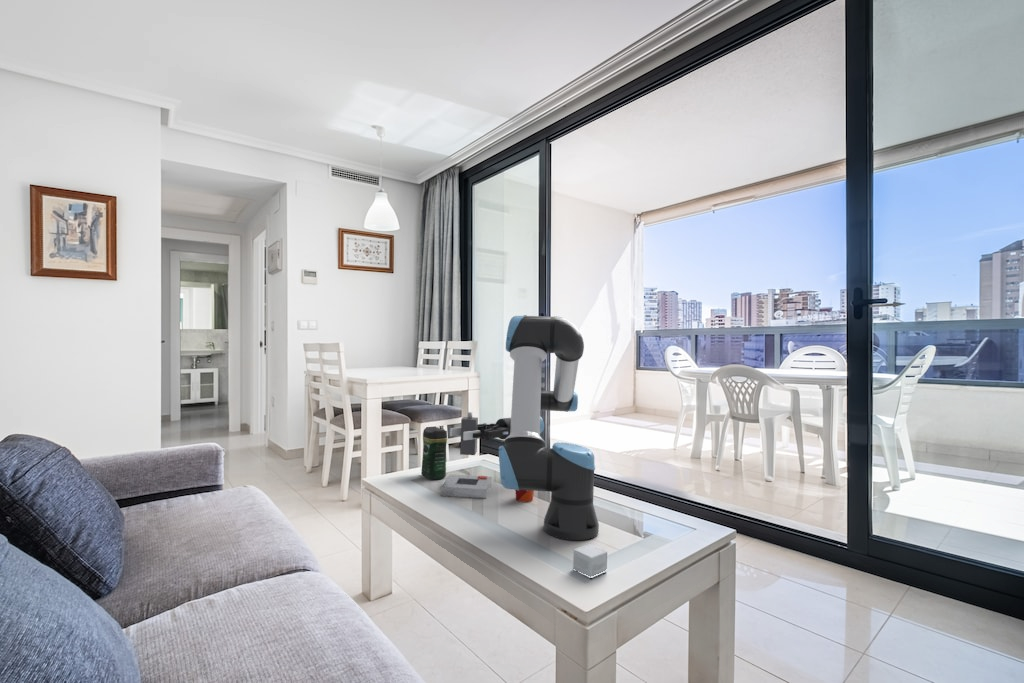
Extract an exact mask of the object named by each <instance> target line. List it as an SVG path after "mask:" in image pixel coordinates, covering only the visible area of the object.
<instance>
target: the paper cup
mask: <svg viewBox="0 0 1024 683" xmlns="http://www.w3.org/2000/svg"><path fill="white" fill-rule="evenodd" d="M515 500H516V501H518V502H519V503H520V502H521V503H530V502H532V501H533V500H534V491H533V490H519V491H517V490H515Z"/></svg>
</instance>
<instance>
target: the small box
mask: <svg viewBox="0 0 1024 683" xmlns="http://www.w3.org/2000/svg"><path fill="white" fill-rule="evenodd" d="M572 554H573V556H572V557H573V558H572V560H573V561H572V570H573V569H575V570H576V571H579V572H581V573H583V574H586V575H588V576H590V577H591V576H594V575H596V574H599V573H601V572H603V571H605V570H606V569H607V570H608V551H607V550H604V549H602V548H600V547H598V546H595V545H593V544H591V543H588V544H585V545H583V546H580V547H577V548H574V549H573V553H572ZM576 571H575V572H576Z"/></svg>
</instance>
